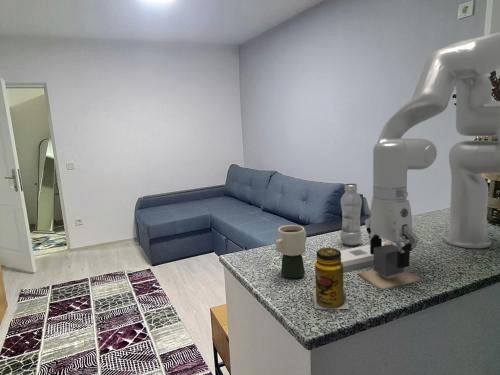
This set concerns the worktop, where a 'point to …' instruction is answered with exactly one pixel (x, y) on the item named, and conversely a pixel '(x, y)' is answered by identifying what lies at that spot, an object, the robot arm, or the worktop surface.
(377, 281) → the cork pad
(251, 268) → the worktop surface
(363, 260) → the power strip
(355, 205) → the plastic bottle
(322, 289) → the condiment
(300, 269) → the character mug
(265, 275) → the worktop surface
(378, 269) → the block
